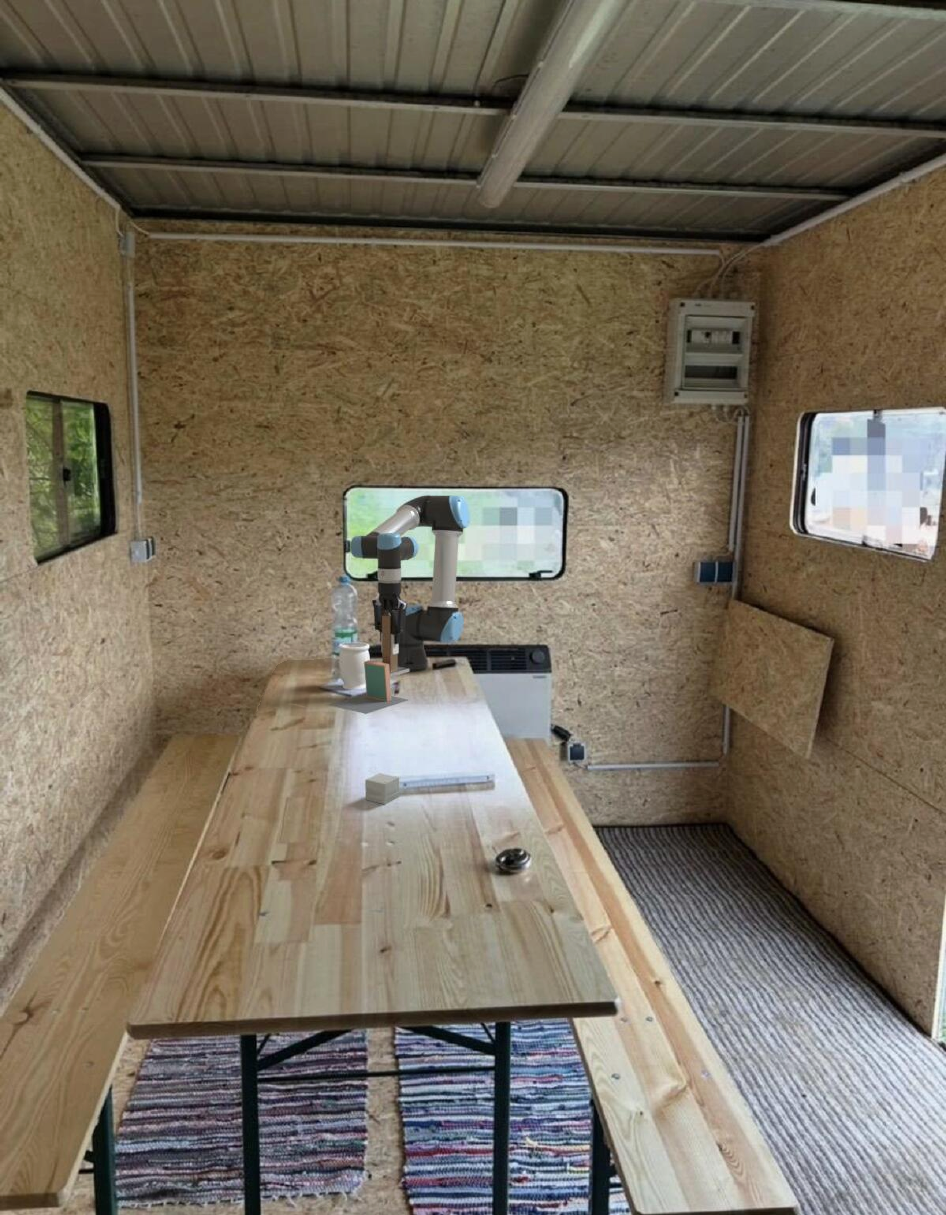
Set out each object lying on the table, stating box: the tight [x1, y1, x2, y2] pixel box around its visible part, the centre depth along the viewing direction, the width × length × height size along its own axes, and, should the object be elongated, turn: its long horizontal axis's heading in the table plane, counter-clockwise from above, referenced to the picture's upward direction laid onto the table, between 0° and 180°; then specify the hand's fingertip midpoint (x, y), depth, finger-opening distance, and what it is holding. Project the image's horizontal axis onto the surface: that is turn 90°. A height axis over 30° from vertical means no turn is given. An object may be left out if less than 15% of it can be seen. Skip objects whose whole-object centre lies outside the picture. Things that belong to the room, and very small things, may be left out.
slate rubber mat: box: [326, 692, 409, 715], centre depth 276 cm, size 20×17×1 cm
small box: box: [364, 772, 400, 805], centre depth 197 cm, size 6×6×5 cm
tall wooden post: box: [381, 613, 410, 678], centre depth 281 cm, size 10×8×19 cm
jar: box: [338, 641, 371, 691], centre depth 295 cm, size 11×10×15 cm
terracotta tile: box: [364, 660, 392, 702], centre depth 279 cm, size 2×9×12 cm, turn 54°
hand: (390, 652), depth 282 cm, fingers closed on tall wooden post, 3 cm apart
